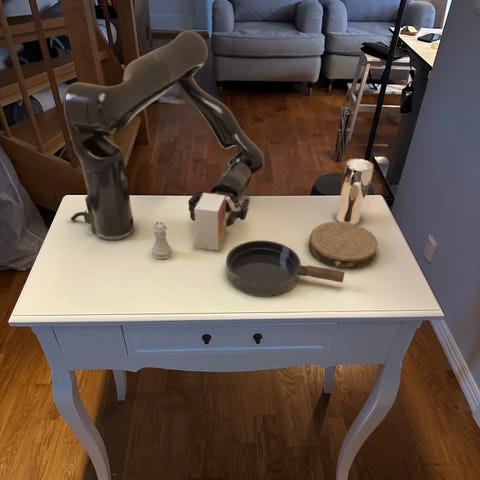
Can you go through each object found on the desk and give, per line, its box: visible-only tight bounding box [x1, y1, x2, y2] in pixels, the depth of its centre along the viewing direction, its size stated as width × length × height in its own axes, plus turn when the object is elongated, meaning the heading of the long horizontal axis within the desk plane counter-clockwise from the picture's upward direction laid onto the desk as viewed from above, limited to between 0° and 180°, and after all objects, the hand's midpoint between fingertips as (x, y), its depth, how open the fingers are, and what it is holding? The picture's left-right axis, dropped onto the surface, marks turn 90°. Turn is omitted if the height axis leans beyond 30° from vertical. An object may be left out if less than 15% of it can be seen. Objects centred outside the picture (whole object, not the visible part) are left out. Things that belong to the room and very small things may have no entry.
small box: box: [194, 192, 226, 251], centre depth 106 cm, size 8×6×10 cm
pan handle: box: [298, 264, 346, 283], centre depth 96 cm, size 10×2×2 cm, turn 74°
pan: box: [225, 239, 302, 297], centre depth 99 cm, size 16×16×4 cm
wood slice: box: [308, 221, 379, 271], centre depth 107 cm, size 16×16×3 cm
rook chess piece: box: [151, 221, 173, 260], centre depth 102 cm, size 4×4×8 cm
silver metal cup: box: [335, 158, 374, 225], centre depth 114 cm, size 7×7×15 cm
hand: (209, 220), depth 105 cm, fingers open, 8 cm apart
